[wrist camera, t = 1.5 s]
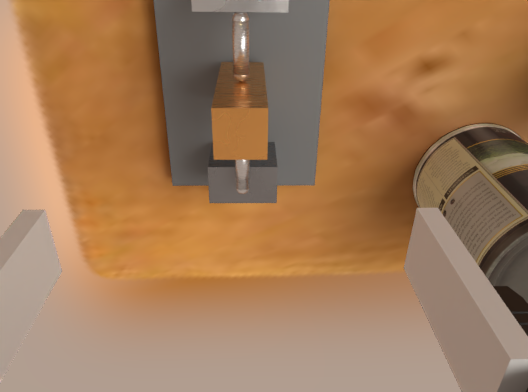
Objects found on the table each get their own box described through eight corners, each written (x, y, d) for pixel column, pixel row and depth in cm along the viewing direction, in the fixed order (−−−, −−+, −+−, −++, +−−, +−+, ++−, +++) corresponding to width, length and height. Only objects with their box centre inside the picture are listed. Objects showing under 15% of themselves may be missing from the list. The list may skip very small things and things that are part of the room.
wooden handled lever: (200, -14, 29) (180, 7, 21) (282, -14, 29) (295, 8, 21) (209, 163, 36) (197, 233, 27) (277, 163, 36) (285, 232, 28)
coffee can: (509, 98, 36) (639, 182, 24) (541, 191, 41) (665, 301, 29) (392, 161, 39) (457, 265, 27) (435, 241, 43) (507, 361, 31)
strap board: (135, -222, 26) (129, -229, 24) (342, -216, 26) (347, -224, 25) (175, 177, 39) (172, 185, 38) (312, 176, 39) (314, 185, 38)
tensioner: (212, 141, 36) (207, 167, 32) (274, 141, 36) (277, 167, 32) (213, 175, 37) (209, 203, 33) (273, 174, 37) (276, 202, 34)
